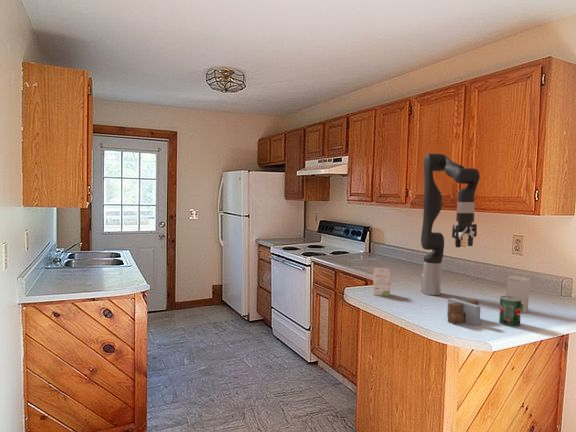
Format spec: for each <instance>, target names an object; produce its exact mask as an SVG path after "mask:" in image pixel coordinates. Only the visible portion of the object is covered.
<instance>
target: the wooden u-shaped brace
mask: <svg viewBox="0 0 576 432" xmlns="http://www.w3.org/2000/svg"><path fill="white" fill-rule="evenodd" d="M464 301H465V302H468V303H472V304H475V305H479V306H480V304H479V303H480V301H479V300H477V299H474V298H472V299H471V298H470V299H466V300H464ZM447 309H448V316H447V323H448V322H449V323H448V324H451V323H452V324H451V325H457V324H460V323H465V317H466V313H463V304H462V303H459V302H456V303H451V304H448V303H447Z"/></svg>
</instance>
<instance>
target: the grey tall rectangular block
mask: <svg viewBox="0 0 576 432" xmlns="http://www.w3.org/2000/svg"><path fill="white" fill-rule="evenodd" d="M465 301H466V300H461V299H457V298H453V297H450V298H447V305H448V304H451V303H456V302H459V303H462V304H463V313H466V317H465V322H464V323H466V324H468V325H470V326H471V325H472V326H473V327H474V326H475V327H476V326H480V325H481V305H480V304H479V305H475V304H472V303H468V302H465ZM446 312H447V314H446V316H447V317H448V308H447V311H446Z"/></svg>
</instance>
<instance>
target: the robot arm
mask: <svg viewBox="0 0 576 432" xmlns="http://www.w3.org/2000/svg"><path fill="white" fill-rule="evenodd" d="M442 171H443V172H444V174H446V175H447V176H448V177H450V178H452V179H453V180H454V182H455V183H457V184H461V185H464V184H467V186H466V187H465V188H461V189H459V190H458V191H457V204H456V215H455V216H456V218H455V219H456V222H457V224H453V225H452V231H451V232H452V233H451V237H452V238H453V239H455V241H454V242H455V243H454V244H455V248H461V246H462V245H461V244H462V237H463V236H464V235H466V236H467V247H473V246H474V245H473V244H474V238H476V237H477V234H478V233H477V231H478V230H477V229H478V228H477V224H476V223H474V222H475V210H476V209H475V197H476V196H475V195H476V194H475V193H476V191H477V190H476V189H477V186H478V184H479V181H480V177H481V176H480V172H479V171H480V170H478V169H477V168H473V167H472V168H470V167H469V168H467V167H465V166H463V164H462V165H461V164H460V163H457V162H454V161H453V160H451V159H450V158H449V157H448V156H446V154H443V153H427V154H425V156H424V157H423V179H424V181H423V184H424V189H423V191H424V192H423V212H422V213H423V215H422V216H423V218H422V229H421V236H420V244H421V247H422V249H423V250H427V251H431V252H430V253H428V254H426V255H424V256H423V269H422V270H423V272H422V274H421V285H420V292H421V293H423V294H424V295H428V296H439V295H441V293H442V292H441V291H442V268H443V267H442V266H443V263H442V262H443V258H444V250H445V237H444V235H443V234H442V233H441V232H432V231H433V225H434V223H435V221H436V219H437V218H438V216H439V215H440V212H441V210H442V207H443V194H442V192H441V191H440V188H439V186H437V184H436V182H435V180H434V172H442Z"/></svg>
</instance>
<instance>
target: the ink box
mask: <svg viewBox="0 0 576 432" xmlns="http://www.w3.org/2000/svg"><path fill="white" fill-rule="evenodd" d="M372 283H373V284H372V285H373V286H372V287H373V288H372V294H373V296H381V297H382V296H383V297H390V293H391V272H390V268H385V267H374V268H373V280H372Z"/></svg>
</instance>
